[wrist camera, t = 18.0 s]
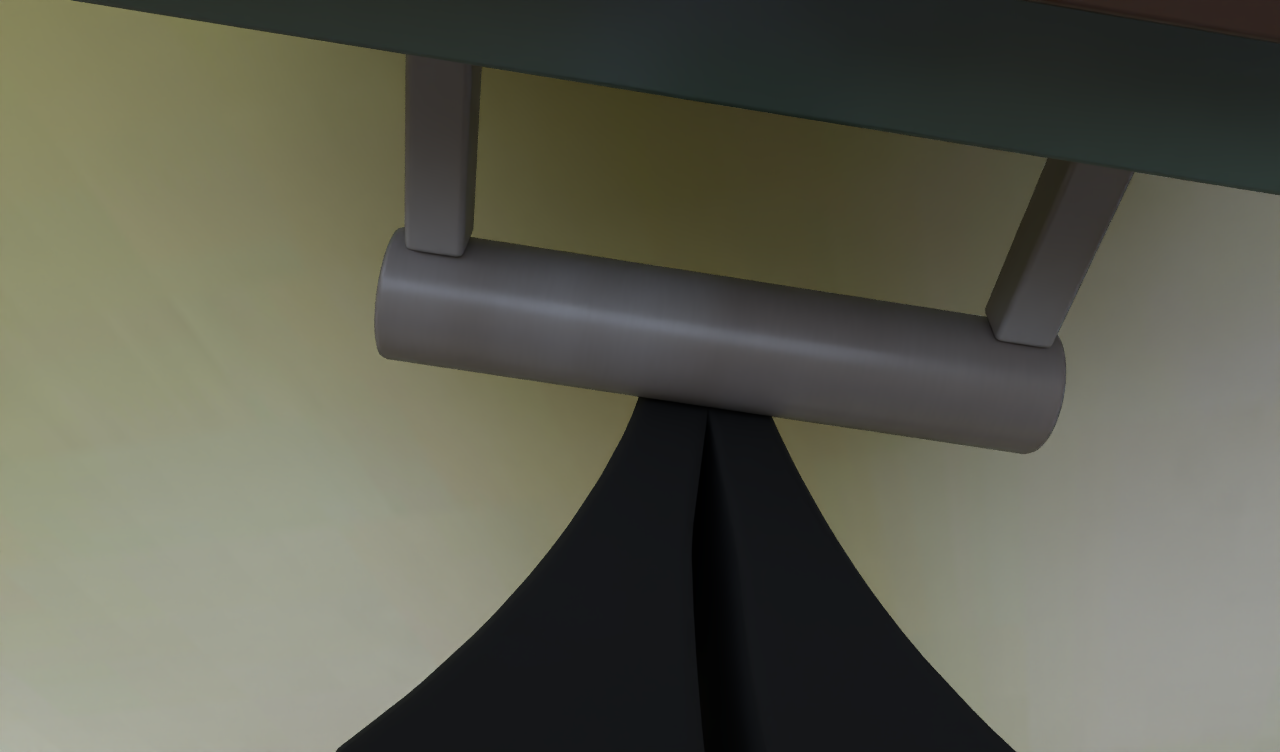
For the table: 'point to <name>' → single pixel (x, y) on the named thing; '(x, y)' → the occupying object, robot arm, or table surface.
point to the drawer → (811, 89)
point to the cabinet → (1192, 14)
